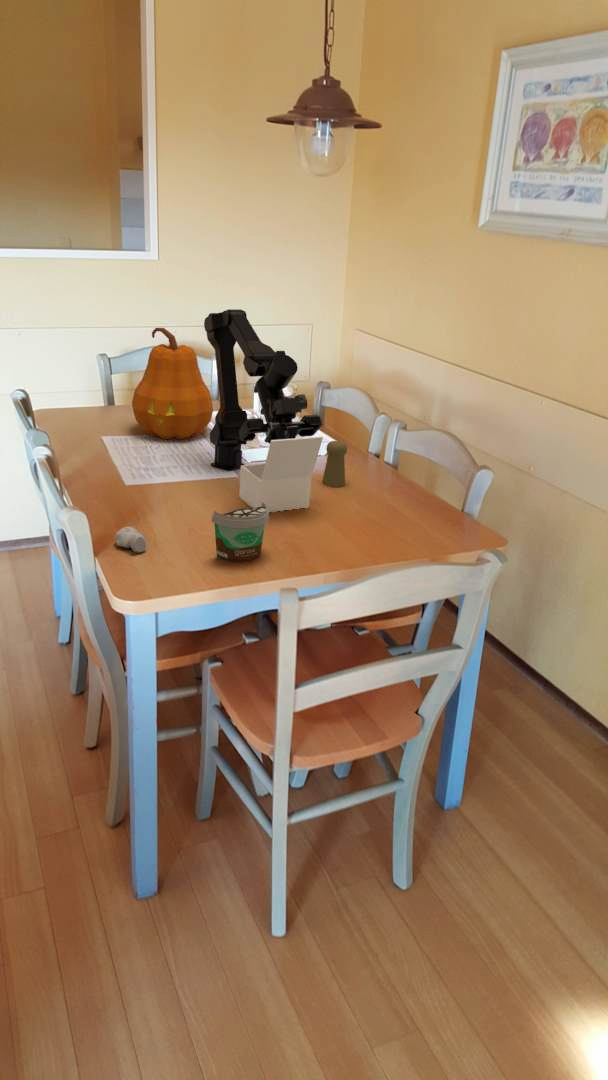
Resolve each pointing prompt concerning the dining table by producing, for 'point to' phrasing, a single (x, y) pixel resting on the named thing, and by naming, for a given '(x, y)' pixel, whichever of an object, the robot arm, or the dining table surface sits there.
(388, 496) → the dining table surface
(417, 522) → the dining table surface
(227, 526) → the food container
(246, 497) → the carton
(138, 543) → the grey rounded lumpy piece
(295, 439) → the carton flap
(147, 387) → the decorative pumpkin
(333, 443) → the cork
